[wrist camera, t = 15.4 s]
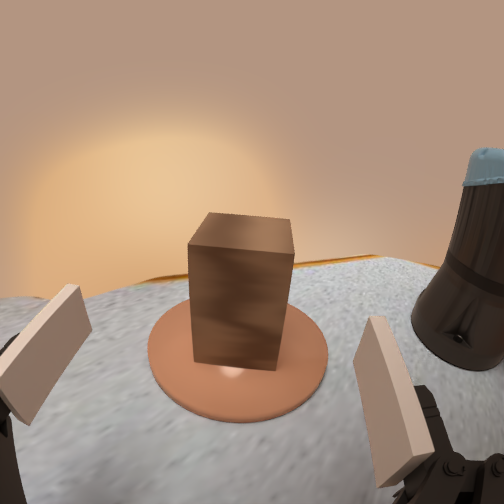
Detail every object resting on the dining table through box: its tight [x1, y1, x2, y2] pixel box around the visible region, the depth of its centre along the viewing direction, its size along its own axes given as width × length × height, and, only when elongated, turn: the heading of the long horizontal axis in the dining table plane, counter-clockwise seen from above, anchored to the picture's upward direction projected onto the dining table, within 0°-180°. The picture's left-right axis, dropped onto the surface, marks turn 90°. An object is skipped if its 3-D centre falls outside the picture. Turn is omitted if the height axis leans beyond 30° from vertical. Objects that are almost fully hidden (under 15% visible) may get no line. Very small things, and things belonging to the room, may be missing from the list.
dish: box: [148, 299, 328, 423], centre depth 27 cm, size 17×17×1 cm
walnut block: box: [188, 213, 295, 371], centre depth 25 cm, size 7×7×11 cm
